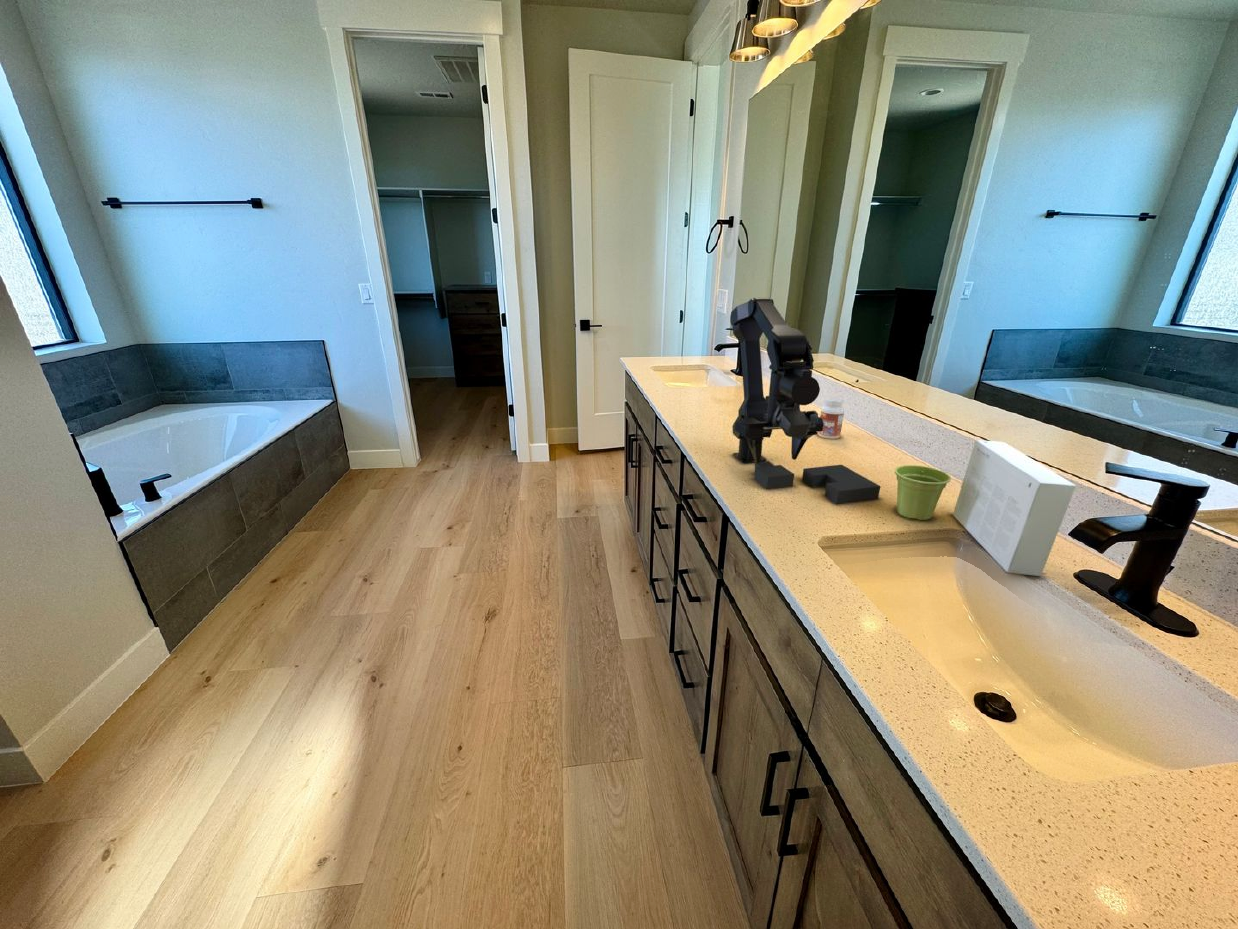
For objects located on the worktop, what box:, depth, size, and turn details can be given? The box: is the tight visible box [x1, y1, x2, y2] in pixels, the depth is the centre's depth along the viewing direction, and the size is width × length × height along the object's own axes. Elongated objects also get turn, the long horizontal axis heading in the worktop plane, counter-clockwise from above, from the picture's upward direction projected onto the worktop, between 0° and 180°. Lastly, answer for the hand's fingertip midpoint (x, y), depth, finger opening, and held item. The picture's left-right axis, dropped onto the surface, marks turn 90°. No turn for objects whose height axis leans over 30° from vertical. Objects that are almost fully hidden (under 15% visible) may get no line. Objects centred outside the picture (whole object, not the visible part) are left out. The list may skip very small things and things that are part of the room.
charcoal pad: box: [801, 464, 881, 505], centre depth 109 cm, size 13×10×3 cm
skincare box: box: [952, 439, 1077, 577], centre depth 84 cm, size 21×5×16 cm, turn 168°
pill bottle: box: [817, 396, 845, 440], centre depth 142 cm, size 6×6×11 cm
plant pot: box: [894, 464, 952, 521], centre depth 96 cm, size 9×9×9 cm
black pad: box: [753, 460, 795, 490], centre depth 114 cm, size 6×9×3 cm
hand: (775, 461), depth 111 cm, fingers open, 9 cm apart
